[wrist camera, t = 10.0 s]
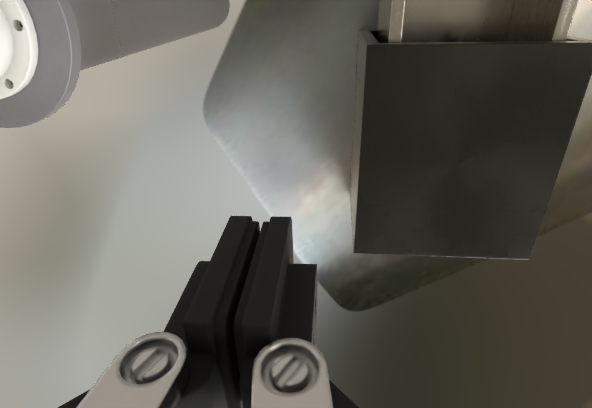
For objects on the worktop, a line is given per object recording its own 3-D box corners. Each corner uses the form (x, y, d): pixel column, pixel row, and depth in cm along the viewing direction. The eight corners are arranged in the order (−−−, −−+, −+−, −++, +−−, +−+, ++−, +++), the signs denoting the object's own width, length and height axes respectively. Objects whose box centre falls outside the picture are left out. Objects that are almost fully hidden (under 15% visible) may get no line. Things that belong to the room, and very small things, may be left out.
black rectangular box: (358, 29, 30) (366, 44, 22) (526, 27, 29) (602, 42, 21) (349, 194, 37) (353, 253, 29) (485, 197, 36) (529, 260, 28)
